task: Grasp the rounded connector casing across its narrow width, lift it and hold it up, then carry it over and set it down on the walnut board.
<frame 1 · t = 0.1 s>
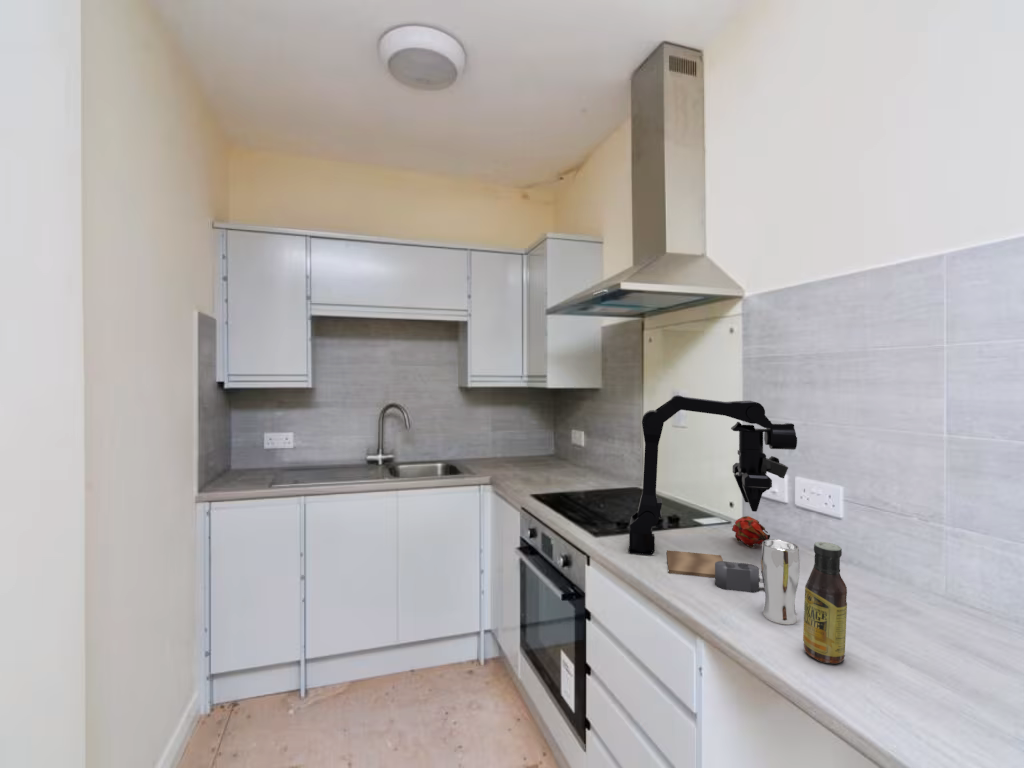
hand: (750, 506, 127), 15 cm above the table, fingers open, 9 cm apart
board: (695, 565, 125), on the table
dragon fruit: (750, 544, 140), on the table
connector: (736, 587, 112), on the table
beer glass: (779, 618, 98), on the table
sauce bottle: (824, 657, 84), on the table
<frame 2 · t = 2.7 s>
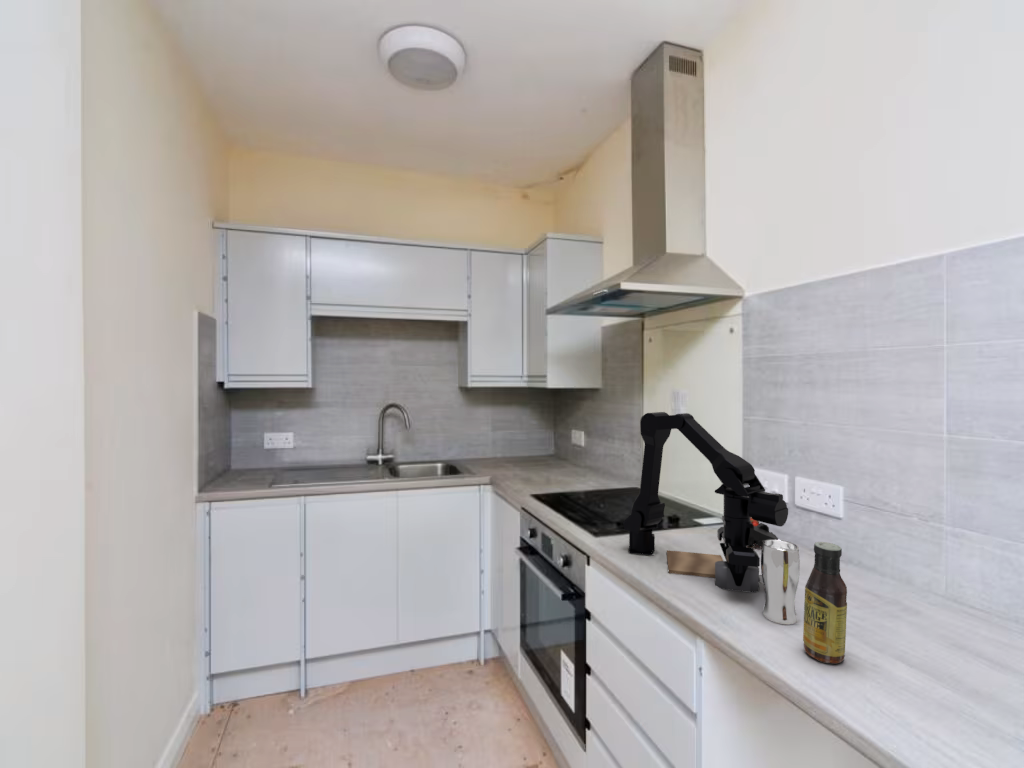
hand: (736, 581, 112), 1 cm above the table, fingers closed on connector, 4 cm apart
connector: (736, 586, 112), on the table, touching gripper
everything else where it was.
when the fingers open (3 cm above the table, at t = 8.8 s): connector stays where it is, resting on board.
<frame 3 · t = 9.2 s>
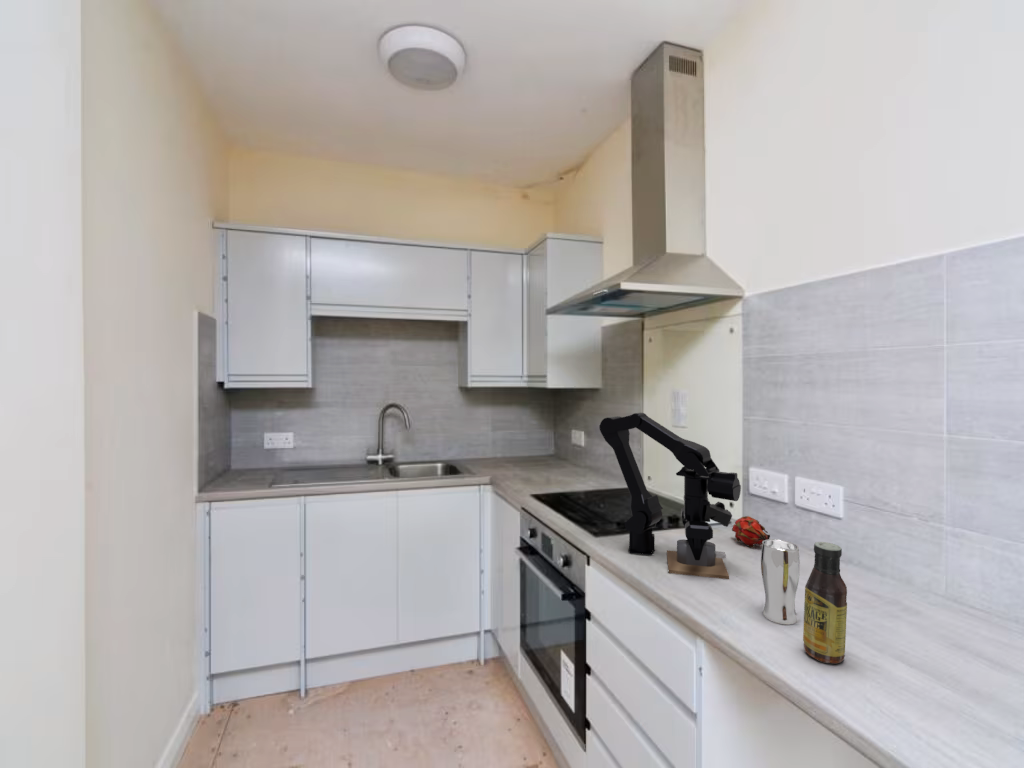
hand: (695, 553, 125), 3 cm above the table, fingers open, 8 cm apart
connector: (695, 562, 125), point 1 cm above the table, touching board
everything else where it was.
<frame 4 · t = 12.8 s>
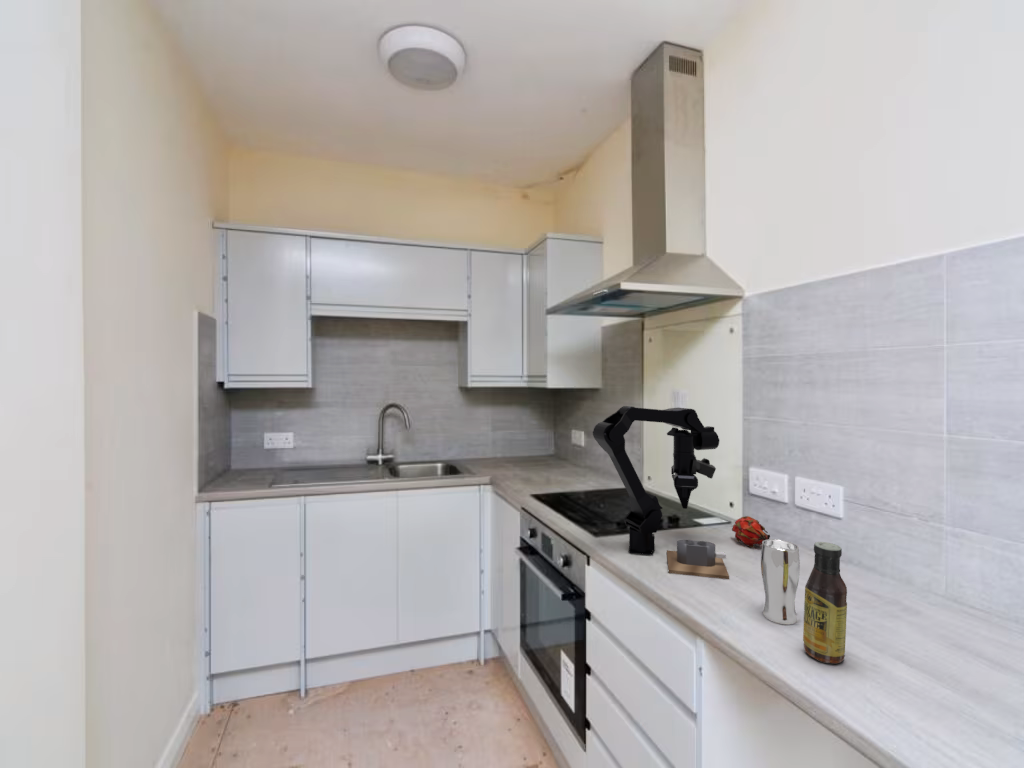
hand: (683, 504, 140), 12 cm above the table, fingers open, 9 cm apart
nothing on the table moved.
at the end: connector inside the target area on the board (0.0 cm from its centre), point 0.8 cm above the board's base; connector tilted 0°; the gripper is holding nothing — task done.
